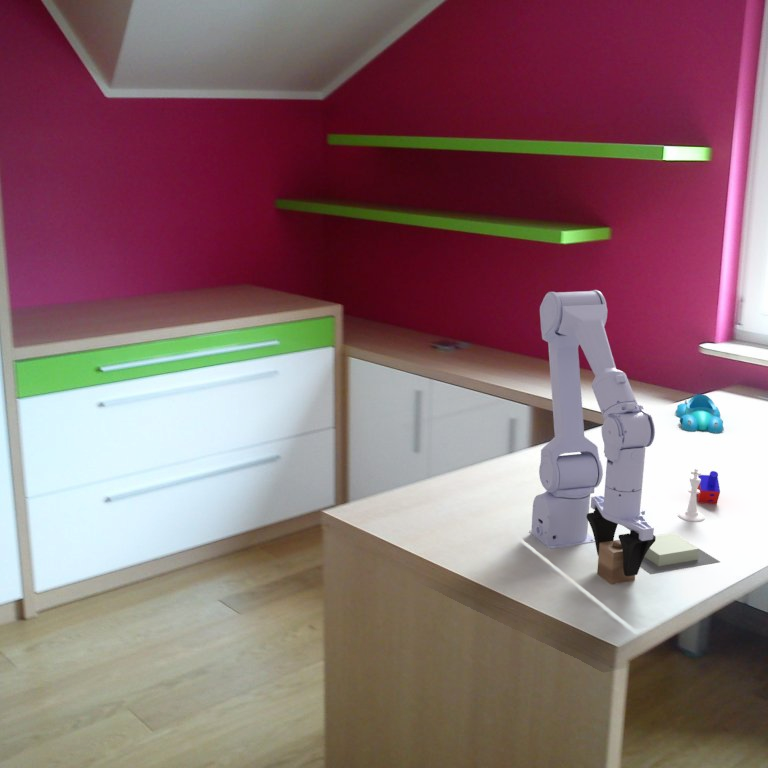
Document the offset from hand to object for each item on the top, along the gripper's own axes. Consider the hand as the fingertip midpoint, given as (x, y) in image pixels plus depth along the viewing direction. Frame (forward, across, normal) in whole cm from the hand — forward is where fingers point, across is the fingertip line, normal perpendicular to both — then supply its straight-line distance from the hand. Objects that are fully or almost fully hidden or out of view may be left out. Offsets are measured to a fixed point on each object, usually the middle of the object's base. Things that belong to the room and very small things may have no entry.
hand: (617, 564), depth 160 cm
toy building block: (+3, +24, -37) cm, 44 cm away
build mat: (+3, +5, -13) cm, 14 cm away
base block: (+2, +5, -13) cm, 14 cm away
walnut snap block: (+3, 0, 0) cm, 3 cm away
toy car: (+3, +68, -70) cm, 98 cm away
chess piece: (+3, +17, -28) cm, 33 cm away
